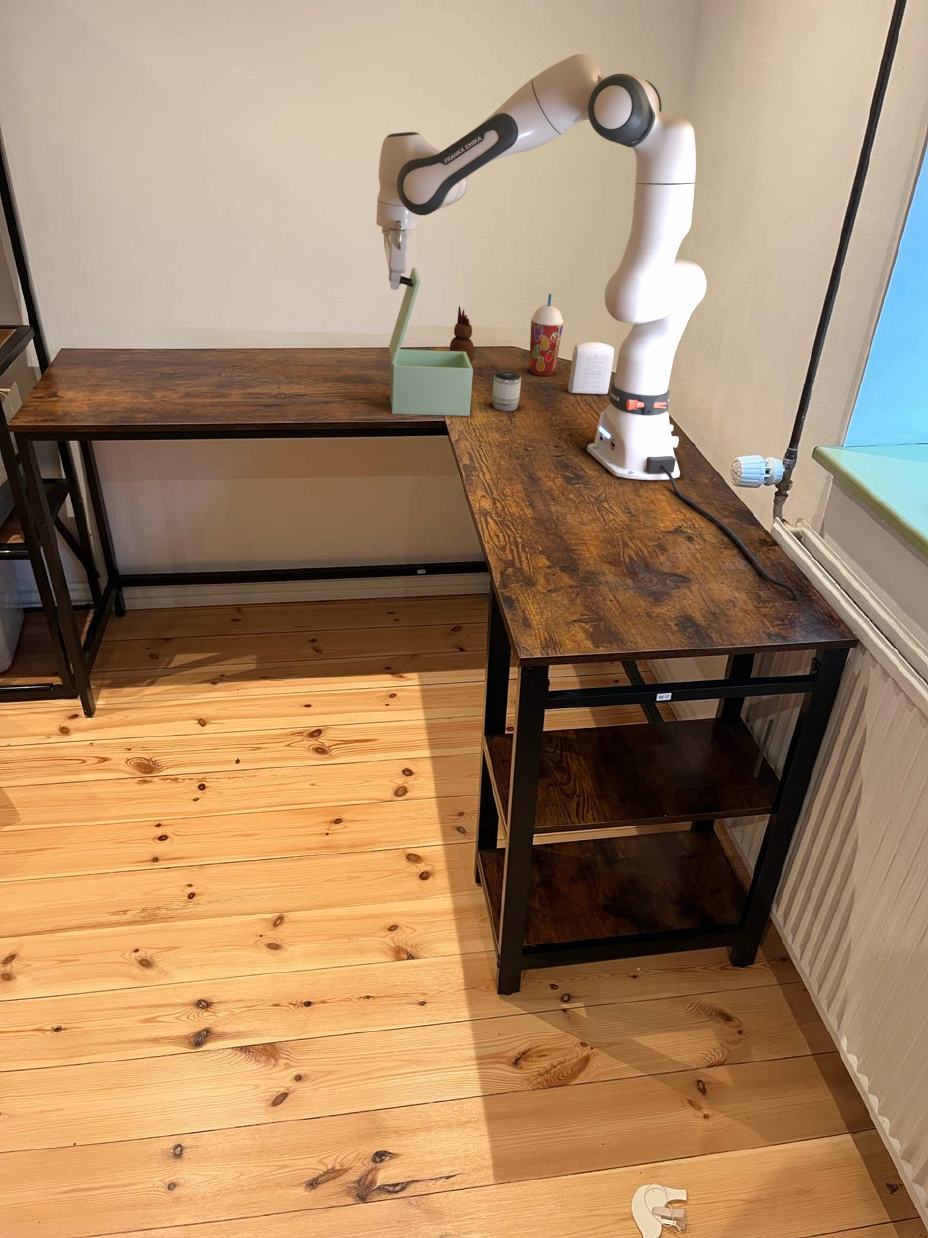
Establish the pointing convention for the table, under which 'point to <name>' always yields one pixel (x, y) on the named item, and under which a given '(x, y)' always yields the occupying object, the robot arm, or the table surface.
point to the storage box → (431, 383)
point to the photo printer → (591, 368)
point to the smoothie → (545, 339)
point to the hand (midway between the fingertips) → (393, 285)
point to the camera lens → (506, 391)
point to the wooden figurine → (463, 336)
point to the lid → (404, 313)
